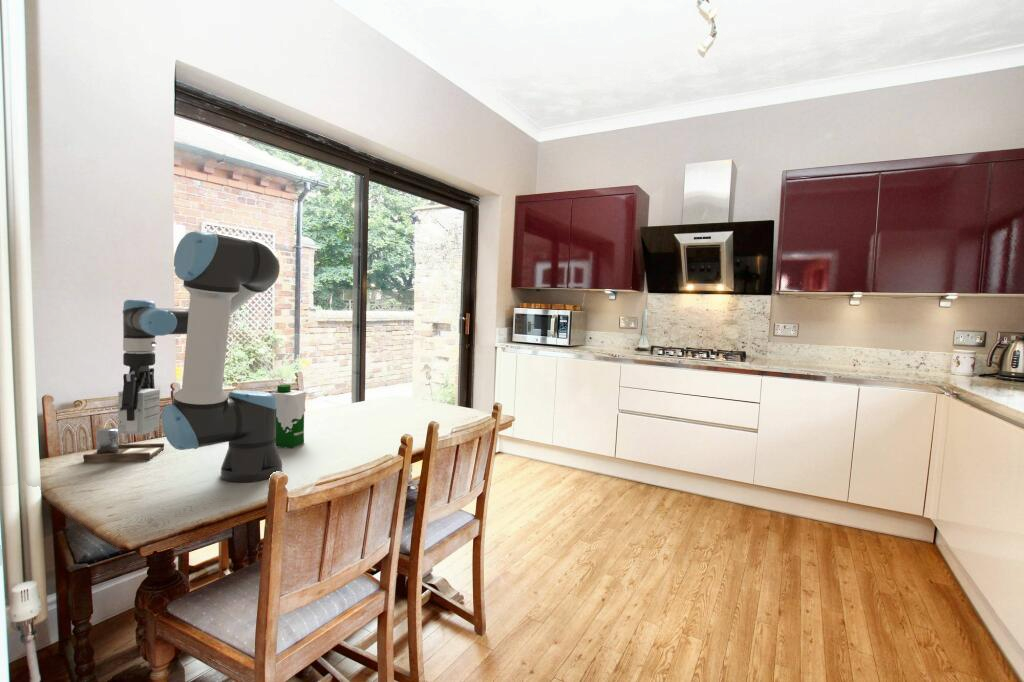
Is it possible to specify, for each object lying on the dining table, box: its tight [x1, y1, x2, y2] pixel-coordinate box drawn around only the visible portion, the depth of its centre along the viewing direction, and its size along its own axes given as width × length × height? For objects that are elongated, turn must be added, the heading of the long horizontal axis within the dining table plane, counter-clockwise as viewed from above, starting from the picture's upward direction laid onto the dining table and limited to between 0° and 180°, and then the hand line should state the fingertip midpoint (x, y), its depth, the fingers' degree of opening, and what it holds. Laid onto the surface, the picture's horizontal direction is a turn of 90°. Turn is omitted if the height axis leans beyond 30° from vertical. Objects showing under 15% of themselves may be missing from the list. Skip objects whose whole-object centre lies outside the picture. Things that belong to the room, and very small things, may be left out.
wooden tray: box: [82, 442, 165, 463], centre depth 144 cm, size 16×11×2 cm, turn 106°
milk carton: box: [271, 384, 307, 449], centre depth 163 cm, size 9×9×20 cm
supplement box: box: [117, 388, 161, 436], centre depth 144 cm, size 7×7×13 cm
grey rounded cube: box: [96, 426, 120, 454], centre depth 143 cm, size 5×5×7 cm
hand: (139, 427), depth 145 cm, fingers closed on supplement box, 8 cm apart
